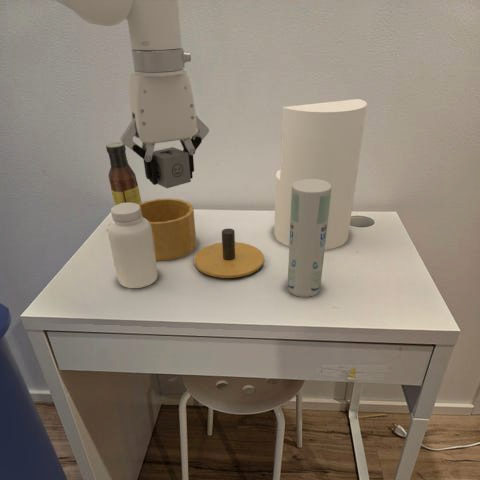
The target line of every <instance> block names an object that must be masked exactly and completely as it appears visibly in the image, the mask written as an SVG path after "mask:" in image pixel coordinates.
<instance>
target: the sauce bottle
mask: <svg viewBox="0 0 480 480" xmlns="http://www.w3.org/2000/svg"><path fill="white" fill-rule="evenodd" d="M105 148H106V153H107V154H108V158H109V164H110V168H109V171H108V180H109V185H110V191H111V195H112V200H113V203H114V206H115V205H117V204H121V203H136V204H140V203H143V202H142V198H141V192H140V187H139V184H138V180H137V177H136V173H135V171H134V170H133V169H132V167H131V166H130V164H129V161H128V158H127V154H126V150H127V148H126V145H124V144H123V143H122V142H121V141H115V142H110V143H107V144H106V145H105Z"/></svg>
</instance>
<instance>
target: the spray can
mask: <svg viewBox="0 0 480 480" xmlns="http://www.w3.org/2000/svg"><path fill="white" fill-rule="evenodd" d="M331 189H332V187H331V184H330V183H328V182H327V181H324V180H319V179H302V180H298V181H296V182H294V183H293V184H292V196H291V218H290V241H289V246H288V262H287V263H288V264H287V265H288V266H287V290H288V292H289V293H290V294H292V295H294V296H297V297H302V298H309V297H313V296H316V295H317V294H318V293H319V292H320V289H321V285H322V278H323V277H322V275H323V267H324V266H323V265H324V258H325V251H326V250H325V242H326V233H327V224H328V216H329V207H330V198H331Z"/></svg>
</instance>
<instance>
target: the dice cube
mask: <svg viewBox="0 0 480 480" xmlns="http://www.w3.org/2000/svg"><path fill="white" fill-rule="evenodd" d="M152 157H153V160H154V161H155V163H156V171H157V178H158V184H157V185H158V186H161V187H163V188H165V189H170V188H173V187H178V186H180V185H184V184H185V185H186V184H188V183H191V182H192V179H191V178H190V166H189V154H188V153H187V152H185V151H183V149H179V148H177V147H174V146H171V147H167V148H162V149H157V150H154V151H153V155H152Z"/></svg>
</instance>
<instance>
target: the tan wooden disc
mask: <svg viewBox="0 0 480 480" xmlns="http://www.w3.org/2000/svg"><path fill="white" fill-rule="evenodd" d="M193 259H194V260H193V261H194V266H195V267H196V269H197V270H198V271H199V272H201V273H203V274H205V275H207V276H210V277H215V278H220V279H233V278H241V277H245V276H249V275H251V274H253V273H255V272H257V271H259V269H261V268H262V266H263V264H264V263H265V256H264V253H263V252H262V251H261V250H260V249H259V248H258V247H257V246H254V245H252V244H248V243H245V242H237V241H236V233H235V229H233V228H224V229H222V230H221V242H217V243H213V244H210V245H206V246H205V247H203V248H201V249H200V250H199V251H197V253H196V254H195V256H194V258H193Z"/></svg>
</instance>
